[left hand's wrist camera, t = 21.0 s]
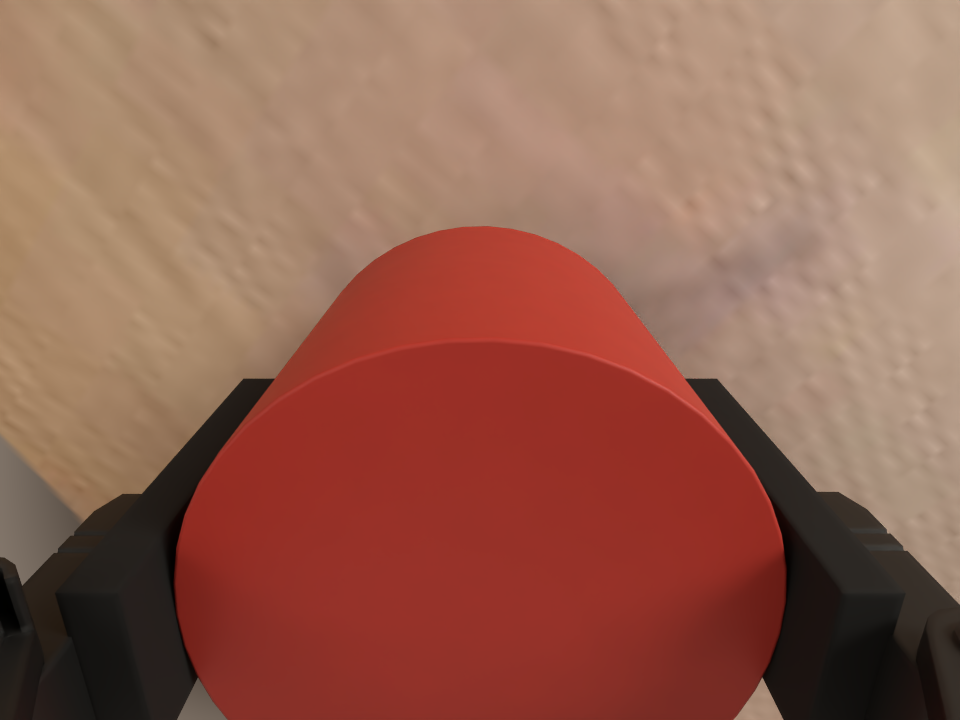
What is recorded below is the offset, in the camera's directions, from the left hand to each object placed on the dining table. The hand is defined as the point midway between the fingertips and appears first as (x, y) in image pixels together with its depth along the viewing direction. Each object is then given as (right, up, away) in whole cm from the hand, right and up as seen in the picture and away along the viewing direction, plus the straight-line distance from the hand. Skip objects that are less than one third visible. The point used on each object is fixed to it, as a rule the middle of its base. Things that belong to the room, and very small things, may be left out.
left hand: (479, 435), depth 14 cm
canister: (0, +1, +2) cm, 2 cm away
